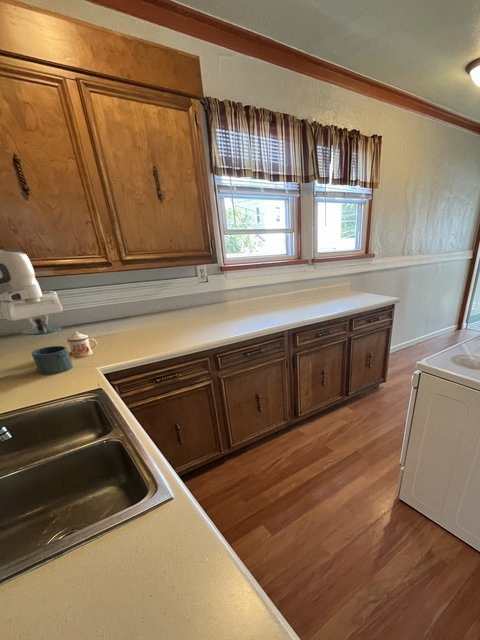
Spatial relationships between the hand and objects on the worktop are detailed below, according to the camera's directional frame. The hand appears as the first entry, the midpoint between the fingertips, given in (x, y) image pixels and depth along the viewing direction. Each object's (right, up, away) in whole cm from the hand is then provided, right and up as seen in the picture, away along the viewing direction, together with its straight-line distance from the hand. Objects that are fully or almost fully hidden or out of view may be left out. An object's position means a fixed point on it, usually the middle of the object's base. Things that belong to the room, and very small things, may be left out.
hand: (40, 327), depth 137 cm
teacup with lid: (0, -7, +29) cm, 30 cm away
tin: (0, -17, +9) cm, 20 cm away
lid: (0, -1, +1) cm, 2 cm away
